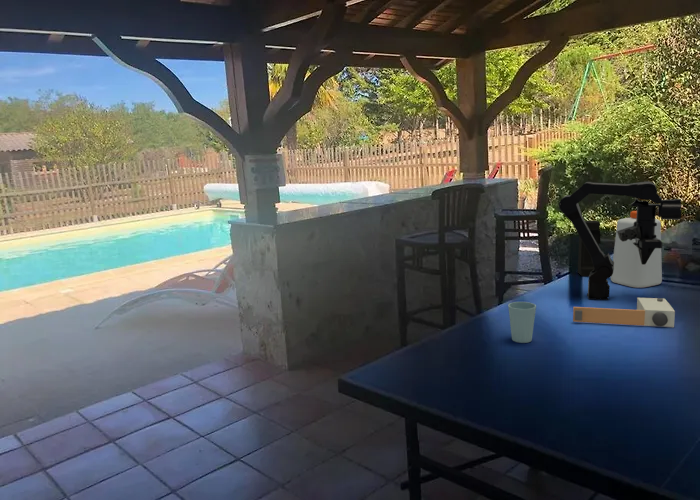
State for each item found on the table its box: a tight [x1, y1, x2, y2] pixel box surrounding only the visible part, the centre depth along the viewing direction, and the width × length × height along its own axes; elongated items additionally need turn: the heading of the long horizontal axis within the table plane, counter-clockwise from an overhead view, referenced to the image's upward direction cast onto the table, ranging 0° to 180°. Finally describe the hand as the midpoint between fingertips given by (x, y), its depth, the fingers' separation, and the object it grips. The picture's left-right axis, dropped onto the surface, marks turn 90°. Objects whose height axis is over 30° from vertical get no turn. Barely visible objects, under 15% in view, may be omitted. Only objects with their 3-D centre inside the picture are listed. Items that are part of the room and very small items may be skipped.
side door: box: [572, 306, 645, 327], centre depth 175 cm, size 2×20×5 cm, turn 71°
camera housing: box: [636, 297, 676, 328], centre depth 177 cm, size 8×15×6 cm, turn 162°
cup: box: [507, 301, 537, 344], centre depth 165 cm, size 8×8×10 cm
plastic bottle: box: [610, 210, 663, 289], centre depth 220 cm, size 15×15×28 cm
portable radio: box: [577, 215, 601, 277], centre depth 236 cm, size 8×6×25 cm
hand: (643, 264), depth 196 cm, fingers closed
